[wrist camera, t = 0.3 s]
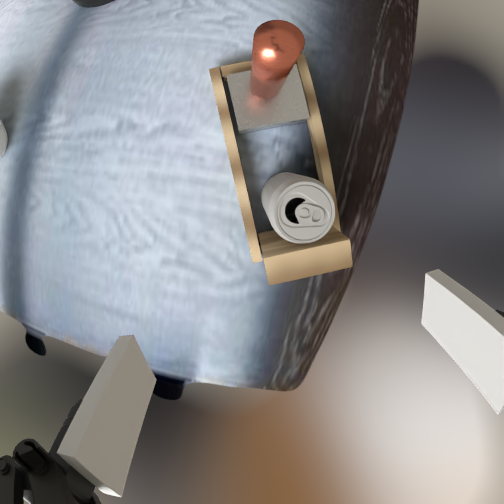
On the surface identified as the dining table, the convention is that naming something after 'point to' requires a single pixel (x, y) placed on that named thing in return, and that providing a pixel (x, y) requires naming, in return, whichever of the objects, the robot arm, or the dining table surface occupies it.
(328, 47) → the dining table surface
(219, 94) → the press frame
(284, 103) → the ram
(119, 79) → the dining table surface
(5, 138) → the lidded jar
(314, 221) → the beverage can
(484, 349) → the robot arm
